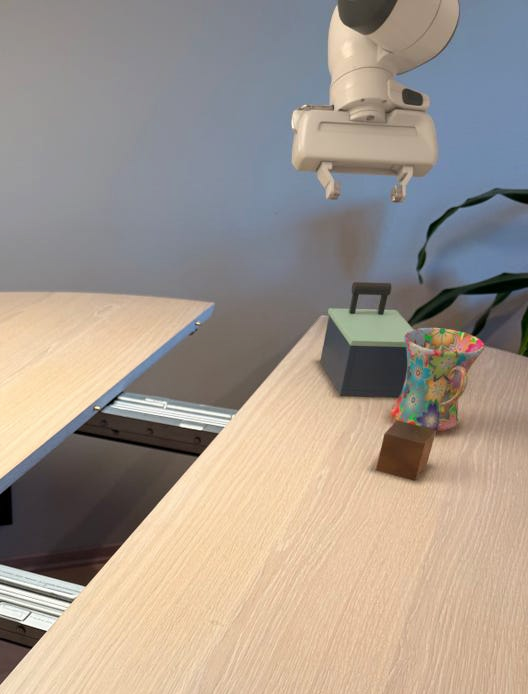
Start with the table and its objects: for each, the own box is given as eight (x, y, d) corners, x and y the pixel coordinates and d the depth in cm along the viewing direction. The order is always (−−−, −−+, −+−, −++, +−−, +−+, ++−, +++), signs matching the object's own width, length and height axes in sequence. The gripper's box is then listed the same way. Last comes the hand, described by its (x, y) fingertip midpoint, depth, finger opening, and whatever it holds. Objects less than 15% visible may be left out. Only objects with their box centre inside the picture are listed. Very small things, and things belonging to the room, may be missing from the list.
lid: (327, 313, 139) (334, 277, 136) (395, 314, 139) (403, 279, 136) (350, 345, 128) (358, 308, 125) (423, 347, 128) (433, 309, 125)
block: (426, 466, 115) (436, 429, 112) (414, 480, 112) (424, 443, 109) (387, 456, 117) (396, 420, 114) (375, 470, 114) (384, 433, 111)
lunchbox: (319, 362, 142) (328, 315, 138) (385, 363, 142) (396, 317, 138) (340, 395, 132) (350, 346, 128) (411, 397, 132) (423, 348, 128)
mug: (374, 407, 129) (393, 327, 123) (442, 407, 130) (464, 327, 124) (410, 447, 119) (432, 362, 113) (483, 446, 120) (509, 361, 114)
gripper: (298, 88, 135) (301, 182, 134) (440, 96, 137) (445, 189, 135) (283, 118, 142) (286, 208, 140) (420, 125, 143) (424, 214, 142)
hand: (366, 198), depth 138 cm, fingers open, 8 cm apart
